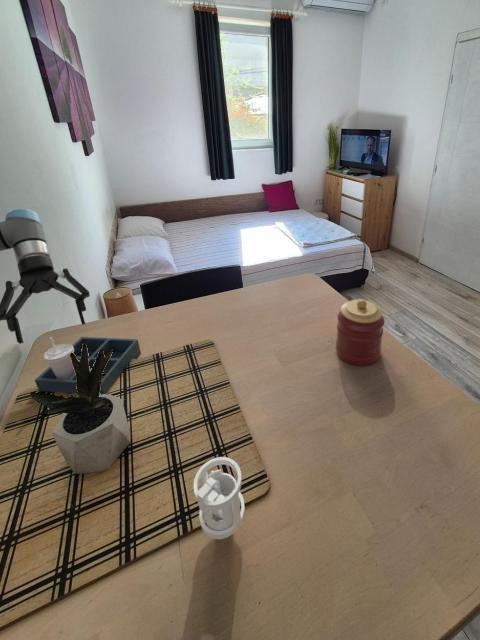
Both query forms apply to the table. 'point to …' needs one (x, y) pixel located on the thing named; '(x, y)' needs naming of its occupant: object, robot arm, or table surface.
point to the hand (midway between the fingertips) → (53, 332)
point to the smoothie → (60, 360)
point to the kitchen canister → (359, 332)
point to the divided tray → (121, 350)
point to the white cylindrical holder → (219, 499)
